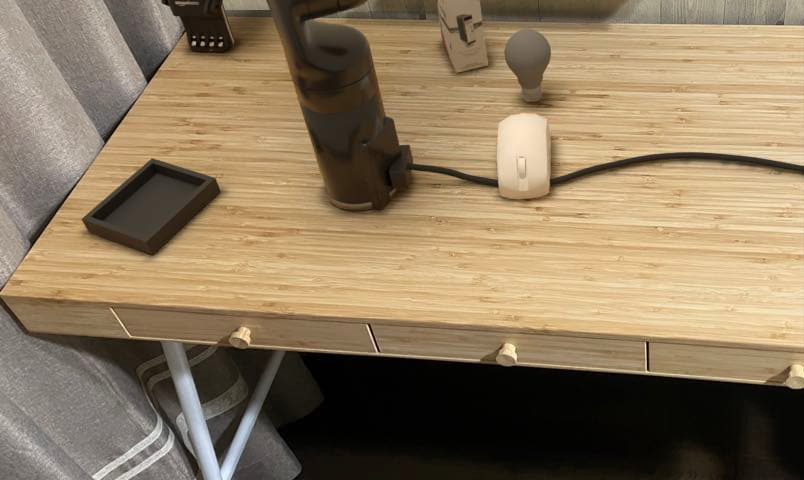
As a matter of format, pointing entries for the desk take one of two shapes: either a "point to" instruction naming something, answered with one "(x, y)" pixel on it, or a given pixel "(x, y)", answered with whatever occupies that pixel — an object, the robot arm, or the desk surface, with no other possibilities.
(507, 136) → the computer mouse
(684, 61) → the desk surface
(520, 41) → the light bulb
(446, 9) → the ink box
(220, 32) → the battery charger
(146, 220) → the dock pad
